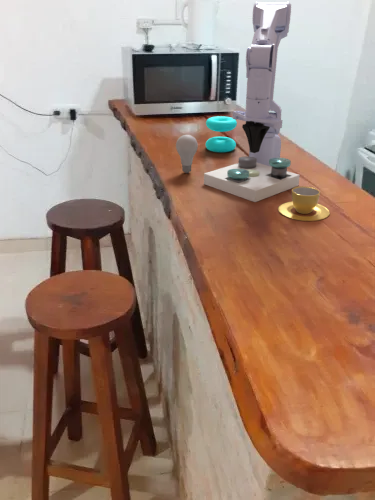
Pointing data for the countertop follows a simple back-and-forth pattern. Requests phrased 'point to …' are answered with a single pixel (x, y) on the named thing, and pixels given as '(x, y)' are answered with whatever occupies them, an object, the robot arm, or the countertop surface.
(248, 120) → the robot arm
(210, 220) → the countertop surface
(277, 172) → the disc
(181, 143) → the lightbulb
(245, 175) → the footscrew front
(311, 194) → the cup
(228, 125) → the donuts
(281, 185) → the instrument base
